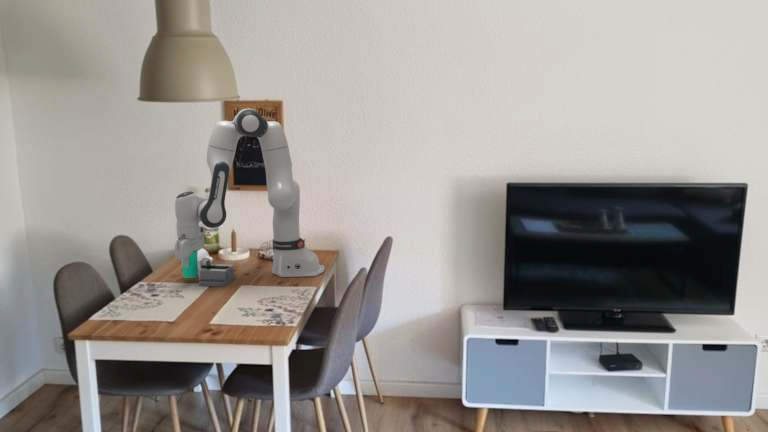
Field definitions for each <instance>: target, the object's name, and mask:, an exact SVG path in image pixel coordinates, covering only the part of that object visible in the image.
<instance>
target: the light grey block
mask: <svg viewBox="0 0 768 432" xmlns="http://www.w3.org/2000/svg"><path fill="white" fill-rule="evenodd" d="M210 264H211V262H210V260H207V259H206V258H203V259H202V260H200V261H199V262H198V280H200V272H199V271H200V269H204V268H206V266H207V268H208V269H211V267H210Z"/></svg>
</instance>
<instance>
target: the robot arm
mask: <svg viewBox="0 0 768 432" xmlns="http://www.w3.org/2000/svg"><path fill="white" fill-rule="evenodd" d="M242 137H251V138H253V137H254V138H257V139H258V142H259V145H260V149H261V153H262V159H263V163H264V164H263V165H264V170H265V179H266V180H265V181H266V190H267V198H268V199H267V200H268V203H269V205H270V206H271V207H272V209H273V212H272V213H273V216H272V231H273V233H272V234H273V239H272V251H273V261H272V268H271V273H272V274H274V275H276V276H278V277H280V278H296V277H297V278H299V277H301V278H302V277H303V278H304V277H316V276H319V275H321V274H323V272H324V271H325V269H326V268H325V266H324V265H323V264H320V260H319V256H318V255H317V254H316V253H315V252H313V251H312V250H311V249H309V248H308V247H306V246H305V244H306V243H305V242H306V239H305V238H304V239H303V238H302V237H300V207H301V205H300V203H301V202H300V200H301V199H300V198H301V197H300V195H301V194H300V191H301V190H300V185H299V183H298V182H297V181H296V180H294V178H293V163H292V159H291V152H290V149H289V144H288V140H287V139H288V138H287V136H286V133H285V131H284V128H283V126H282V124H281V123H280V122H278V121H276V120H275V121H274V120H269V121H267V120H266V119H265V118H264V117H263V115H261V114H260V113H259V111H257V110H255V109H253V108H250V107H249V108H244V109H241V110H240V111H239V112H237V113H236V114H235V115H234V117H233V118H232V119H231V120H219V121H218V122H216V123H215V124H214V127H213V128H212V131H211V134H210V137H209V141H208V144H207V149H206V150H207V151H206V162H207V166H208V168H209V171H210V176H211V180H210V185H209V193H208V197H206V196H203V195H200V194H197V192H195V191H184V192H182V193H180V194H178V195H177V196H176V198H175V203H174V206H175V207H174V209H175V217H176V236H177V240H176V241H175V243H174V258H175V259H176V260H177V261H182V260H183V262H184V265H185V267H189V266H190V262H189V260H188V259H189V256H191V254H192V253H194V252H196V250H197V254H198V251H199V250H200V249H202V248H203V249H204V246H205V236H204V231H205V226H206V227H207V228H210V229H216V228H219V227H221V226H222V225H223V224H224V223H225V221H226V218H227V211H226V207H225V202H226V195H227V188H228V183H229V178H230V177H229V176H230V172H231V169H232V166H233V162H234V159H235V156H236V151H237V145H238V142H239V140H240V138H242ZM200 222H201V223H202V224H203V225H204V226H201V225H200Z"/></svg>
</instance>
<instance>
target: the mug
mask: <svg viewBox="0 0 768 432" xmlns="http://www.w3.org/2000/svg"><path fill="white" fill-rule="evenodd" d="M203 258H206V259H207V260H210V263H212V262H213V261H214V258H213V257H212V256H210V254H209V252H208V251H207V250H206V249H205V248H204V247H203V248H202V249H200V250H199V251H198V254H197V260H198V262H199V261H200V260H202V259H203ZM181 266H183V260H181Z"/></svg>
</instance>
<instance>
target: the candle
mask: <svg viewBox="0 0 768 432" xmlns="http://www.w3.org/2000/svg"><path fill="white" fill-rule="evenodd" d="M188 260H189V262H190V266H189V267H185V265H184V262H183V265H182V277H184V278H187V279H189V278H190V279H191V278H196V277H199V273H198V260H197V250H196V252H194V253H192V254H191V256H189V259H188Z"/></svg>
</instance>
